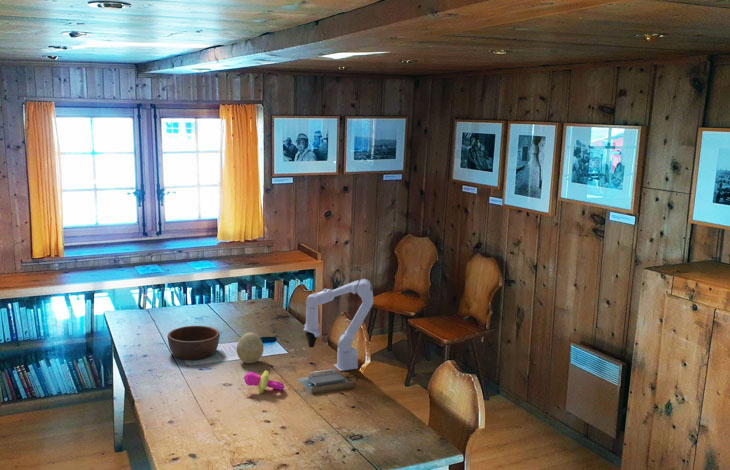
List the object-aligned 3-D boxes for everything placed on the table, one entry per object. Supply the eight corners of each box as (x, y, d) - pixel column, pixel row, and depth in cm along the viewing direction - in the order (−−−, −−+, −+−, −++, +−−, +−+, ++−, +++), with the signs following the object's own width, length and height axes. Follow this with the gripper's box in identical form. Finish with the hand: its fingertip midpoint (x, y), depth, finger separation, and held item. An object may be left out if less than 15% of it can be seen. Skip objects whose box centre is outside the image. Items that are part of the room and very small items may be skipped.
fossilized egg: (234, 359, 330) (234, 329, 327) (259, 356, 335) (259, 327, 332) (239, 368, 319) (240, 338, 316) (266, 365, 324) (266, 335, 321)
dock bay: (336, 373, 319) (336, 367, 318) (353, 388, 302) (353, 382, 302) (296, 379, 310) (296, 373, 309) (311, 395, 294) (311, 388, 293)
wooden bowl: (157, 357, 330) (156, 336, 328) (188, 341, 353) (188, 322, 351) (200, 365, 321) (199, 345, 319) (229, 349, 344) (229, 330, 342)
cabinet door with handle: (336, 377, 311) (337, 368, 310) (345, 384, 303) (345, 375, 302) (308, 381, 305) (308, 372, 304) (315, 389, 297) (316, 379, 296)
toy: (282, 399, 290) (288, 375, 292) (241, 388, 286) (248, 364, 289) (279, 399, 299) (285, 375, 302) (239, 388, 296) (246, 365, 298)
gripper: (298, 315, 326) (298, 342, 329) (309, 325, 314) (309, 352, 316) (312, 314, 330) (311, 341, 332) (323, 323, 317) (323, 351, 319)
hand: (311, 346), depth 324 cm, fingers closed
